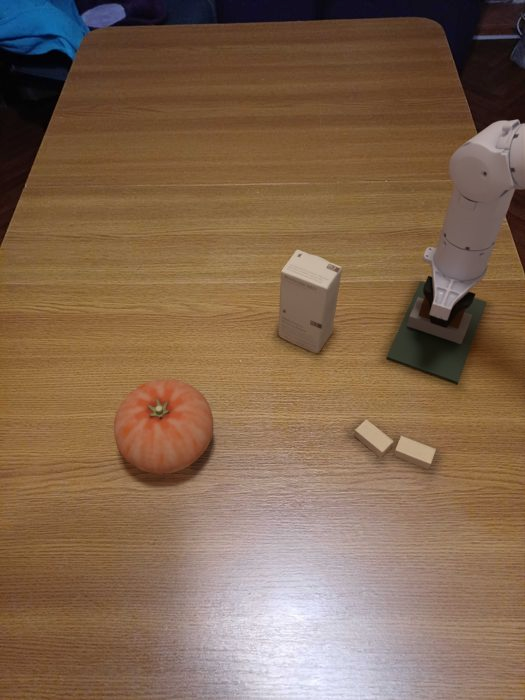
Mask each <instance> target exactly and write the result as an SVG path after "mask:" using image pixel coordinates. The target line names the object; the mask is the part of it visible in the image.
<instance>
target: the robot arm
mask: <svg viewBox="0 0 525 700" xmlns="http://www.w3.org/2000/svg"><path fill="white" fill-rule="evenodd" d="M449 159H450V160H449V163H448V173H449V177H450V181H451V183H452V185H453V188H452V192H451V195H450V199H449V202H448V206H447V209H446V212H445V216H444V220H443V224H442V227H441V231H440V234H439V238H438V241H437V246H436V247H433V246H428V247H427V248H426V249H425V251H424V253H423V256H422V261H423V262H424V263H426V264H429V265H430V267H431V275H428V276H427V278H426V280H425V281H424V282H425V284H424V288H423V294H424V295H425V297H426V298H427V300H428V303H429V310H430V314H429V315H430V322H431V323H432V324H435V325H438V326H441V327H444V328H447V327H448V326H449V324H450V323H451V322H452V321H453V319H454V318H455V316H456V315H457V314H458V313H459V312H461V311H462V310H464V309H467V308H468V307H469V306H470V305H471V304H472V302H473V300H474V298H475V296H476V293H475V292H471V290H472V289H474V287H476V286H477V285H478V284H479V283H480V282H481V281H482V280H483V279H484V278H485V276H486V274H487V271H488V267H489V266H488V263H489V260H490V258H491V257H492V253H493V251H494V248H495V245H496V242H497V239H498V237H499V234H500V232H501V229H502V226H503V225H504V221H505V218H506V215H507V214H508V210H509V208H510V205H511V201H512V199H513V196H514V193H515V191H516V190H525V123H521V122H520V120H519V119H513V120H498V121H495V122H492V123H491V124H490V125H488V126H486V127H485V128H484V129H482V130H481V131H480V132H478V133H477V134H476V135H474V136H473V137H471V138H470V139H468V140H467V141H466V142H465V143H463V144H461V145H460V146H459V147H458V148H457V149H456V150H455V151H454V152H453V153H452V154H451V157H450V158H449Z"/></svg>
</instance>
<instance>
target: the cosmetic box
mask: <svg viewBox="0 0 525 700" xmlns="http://www.w3.org/2000/svg"><path fill="white" fill-rule="evenodd" d="M342 272H343V266H341V265H338V264H336V263H333V262H331V261H328V260H326V259H325V258H323V257H321V256H318V255H315V254H310V253H308V252H306V251H303V250H300V249H298V248H297V249H296V250H295V252H294V253H293V254H292V255H291V257H290V258H289V260H288V261H286V264H285V265H284V266H283V268H282V269H281V271H280V284H279V285H280V286H279V310H278V311H279V312H278V313H279V314H278V332H277V334H278V335H277V336H278V337H280V338H281V339H283V340H285V341H287V342H289V343H291V344H293V345H295V346H297V347H299V348H302V349H304V350H307V351H309V352H312V353H314V354H319V353H320V352H321V350H322V349H323V347H324V345H325V344H326V342H327V341H328V339H329V338H330V336H331V335H332V334H333V330H334V324H335V316H336V312H337V311H336V310H337V304H338V297H339V291H340V285H341V278H342Z"/></svg>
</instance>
